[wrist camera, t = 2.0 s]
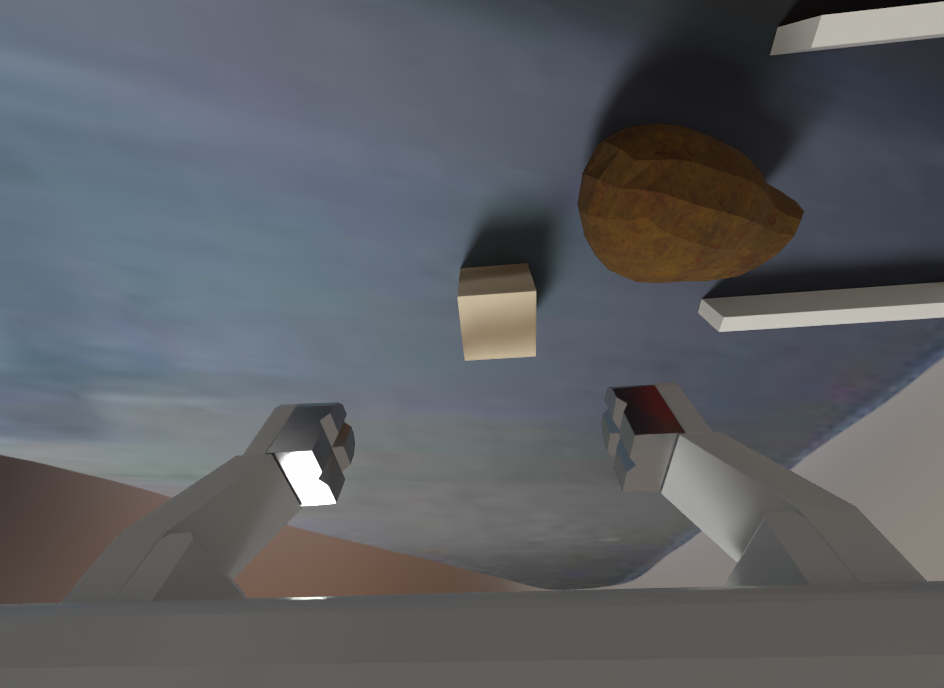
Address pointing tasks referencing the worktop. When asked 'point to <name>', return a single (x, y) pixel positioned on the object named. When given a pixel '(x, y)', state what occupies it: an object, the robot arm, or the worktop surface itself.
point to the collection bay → (854, 301)
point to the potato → (680, 207)
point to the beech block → (497, 312)
